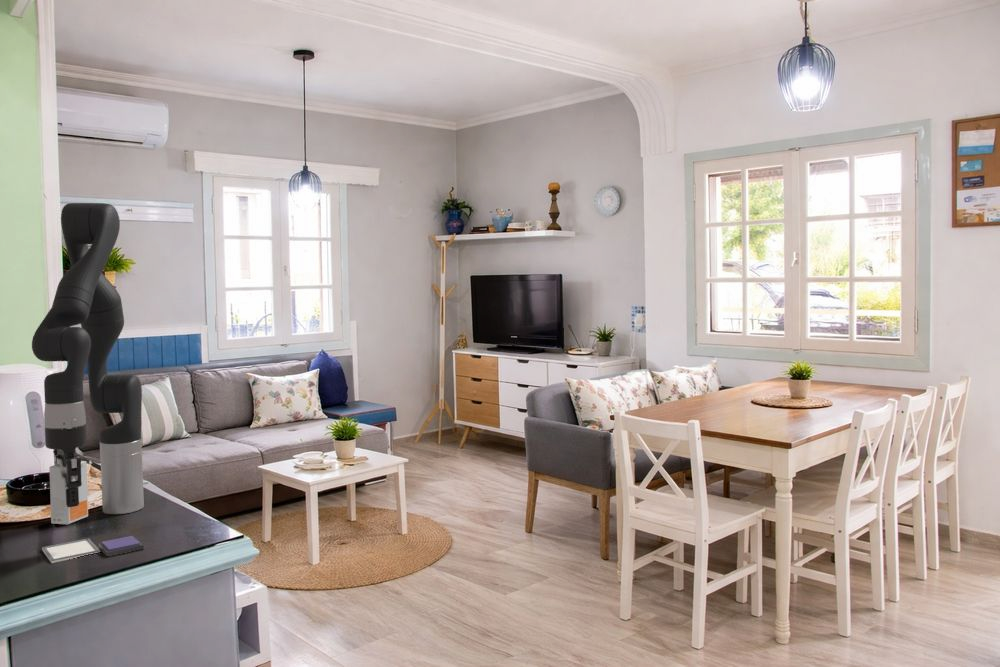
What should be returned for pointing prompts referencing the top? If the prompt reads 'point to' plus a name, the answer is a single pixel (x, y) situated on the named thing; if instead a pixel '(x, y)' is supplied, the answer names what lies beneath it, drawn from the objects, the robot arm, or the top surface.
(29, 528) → the top surface
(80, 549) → the framed whiteboard
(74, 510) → the skincare box
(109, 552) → the ink pad
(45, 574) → the top surface
